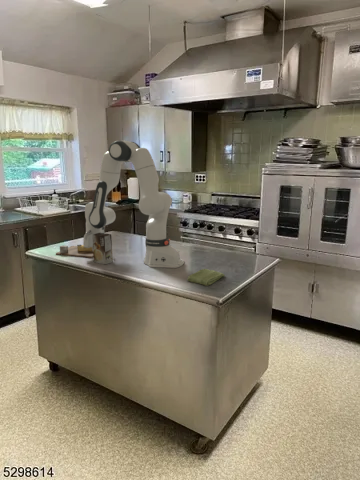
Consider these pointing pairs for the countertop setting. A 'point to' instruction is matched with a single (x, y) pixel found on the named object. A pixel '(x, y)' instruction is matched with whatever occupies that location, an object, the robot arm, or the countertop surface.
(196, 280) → the washcloth
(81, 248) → the bar
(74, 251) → the board
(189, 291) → the countertop surface
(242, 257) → the countertop surface
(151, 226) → the robot arm
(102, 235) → the coffee box
